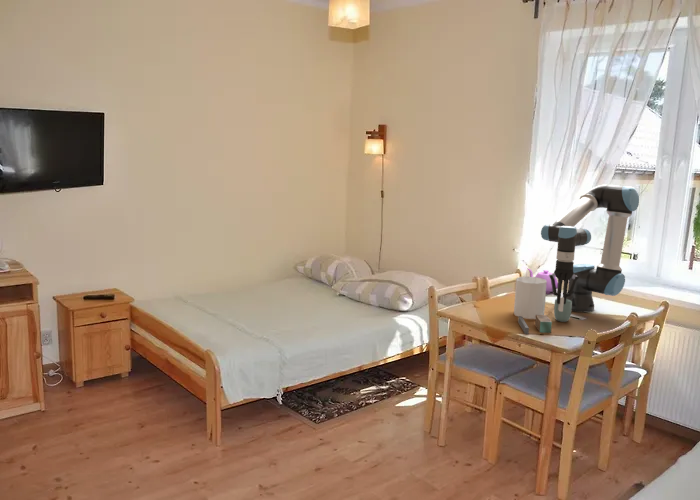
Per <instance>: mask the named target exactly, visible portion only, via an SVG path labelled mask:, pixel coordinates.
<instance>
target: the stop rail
mask: <svg viewBox="0 0 700 500" xmlns="http://www.w3.org/2000/svg"><path fill="white" fill-rule="evenodd" d="M517 323H518V324H519V326H520V327H521V329H522V331H523V333H524V335H529V331H530V327H529V326H528V324H527V323H526V321H525V318H522V316H517Z"/></svg>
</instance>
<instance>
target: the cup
mask: <svg viewBox="0 0 700 500" xmlns="http://www.w3.org/2000/svg"><path fill="white" fill-rule="evenodd" d="M558 305H559V304H557V298H556V299H554V306H553V307H554V308H553V315H554V318H555V320H556V321H557V322H562V323H563V322H564V323H566V322H568V321H569V320H571V319H570V318H571V316H572V311H571V310H572V301H571V300H568V299H566V304H564V305H563V312H561V311H559V310H558Z"/></svg>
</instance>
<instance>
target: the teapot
mask: <svg viewBox="0 0 700 500" xmlns="http://www.w3.org/2000/svg"><path fill="white" fill-rule="evenodd" d="M527 270H528V271H529V277H537V278H542V279H545V280H546V281H547V283H546V295H551V293H553V290H552V284H551V279H550V277H549V274H553V273H554V272H553V273H552V272H549V271H550V270H548V269H544V270H542V271H539V272H537V274H535V276H534V275H533V274H534V273H533V271H532V269H531V268H527ZM554 280H555V285H556V290H557V289H558V278H557V277H556V275H555V278H554Z"/></svg>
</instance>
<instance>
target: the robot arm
mask: <svg viewBox="0 0 700 500" xmlns="http://www.w3.org/2000/svg"><path fill="white" fill-rule="evenodd" d="M639 195H640V194H639V193H638V190H637V189H636V187H633V186H629V185H628V186H627V185H616V184H601V185H597V186H594V187H592V188H590V189H588V190H587V191H585V192H584V193H583V194H582V195H581V196H580V198H579V199H578V201H577V202H576V203H575V204H573V206H571V207H570V208H569V209H568V210H567V211H566V212H565V213H564V214H563V215H561V216H560V217H559V218H558V219H557V220H556V221H555V222H554V223H553V224H545V225H542V228H541V231H540V236H541V238H542V240H544V241H549V242H554V243H557V248H556V260H555V270H554V271H553V274H549V277H550V279H551V284H552V290H553V292H552V294H553V295H554V296H555V297H556V299H557V304H559V305H558V310H559V311H561V312H563V305H564V304H566V299H568V300H571V301H572V310H571V312H578V313H591V312H593V311H595V304H594V298H593V293H597V294H602V295H605V296H613V297H614V296H618V295H619V294H620V293H621V292H622V290H623V288H624V286H625V283H626V275H624V274H623V273H622V270H623V269H622V268H621V267H620V263H621V257H622V252H623V247H624V246H623V245H624V241H625V235H626V230H627V223H628V220H629V219H628V218H629V217H631V216H632V214H633V212H635V211H637V209H638V207H639V204H640V197H639ZM598 208H602V209H606V211H605V212H606V214H607V215H608V219H607V223H606V225H607V226H606V230H605V236H604V241H603V248H602V254H601V260H600V263H598V264H597V265H596V267H595V265H594V264H591V263H581V264H580V263H579V264H574V260H575V249H576V247H579V246H580V247H581V246H585V245H588V244H589V243H590V242H591V240H592V234H591V232H590V231H589V230H588V229H587V228H577V227H575V226H576V225H578V223H579V222H581V221H582V220H583V219H584V217H586V216H587V215H589V213H590V212H593V211H595V210H596V209H598ZM555 275H556V279H557V282H558V289H556V285H555V280H554V278H555ZM562 287H563V288H562Z"/></svg>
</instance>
